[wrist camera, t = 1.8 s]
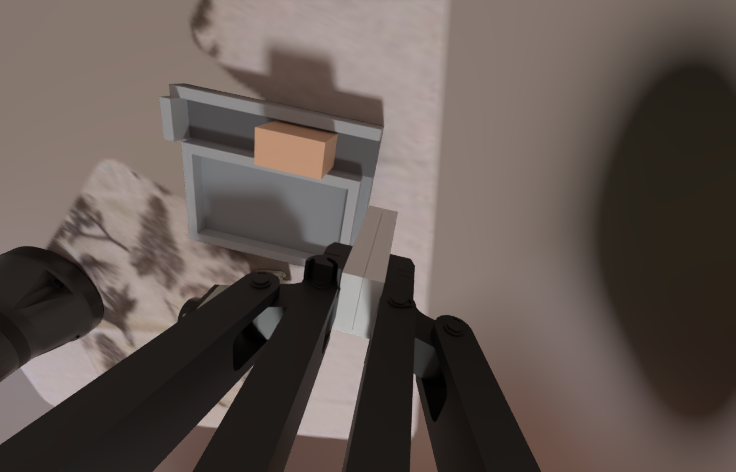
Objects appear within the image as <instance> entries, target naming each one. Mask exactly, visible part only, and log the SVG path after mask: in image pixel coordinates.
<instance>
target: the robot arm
mask: <svg viewBox="0 0 736 472" xmlns="http://www.w3.org/2000/svg"><path fill="white" fill-rule="evenodd" d="M397 214H398V212H396V211H391V210H387V209H384V210H383V209H382V208H378V207H374V206H369V208H368V211H367V213H366V216H365V218H364V221H363V223H362V225H361V228H360V230H359V233H358V235H357V238H356V240H355V243H354V245H353V246H351V245H346V244H342V243H338V242H334V243H332V244H330V245H328V246H327V248H326V250H325V251H324V253H323V255H314V256H311V257H309V258H308V259H307V260H305V270H304V279H303V281H302V282H301V283H296V284H280V280H279V278H278V276H276V275H274V274H273V273H270V272H266V271H257V272H252V273H250V274H247V275H245V276H244V277H242V278H241V279H240V280H238V281H237V282H235V283H234V284H232V285H231V286H229V287H228V288H227V289H225V290H224V291H222V292H221V293H219V294H218V295H216V296H215V297H214V298H212V299H211V300H209V301H208V302H206V303H205V304H203V305H202V306H200V307H199V308H198V309H196V310H195V311H193V312H192V313H190V314H189V315H187V316H186V317H185V318H183V319H182V320H180V321H179V322H177V323H176V324H174V325H173V326H171V327H170V328H169V329H167V330H166V331H164V332H163V333H161V334H160V335H158V336H157V337H156V338H154V339H153V340H151V341H150V342H148V343H147V344H145V345H144V346H143V347H141V348H140V349H138V350H137V351H135V352H134V353H132V354H131V355H129V356H128V357H127V358H125V359H124V360H122V361H121V362H119V363H118V364H116V365H115V366H114V367H112V368H111V369H109V370H108V371H106V372H105V373H103V374H102V375H100V376H99V377H98V378H96V379H95V380H93V381H92V382H90V383H89V384H87V385H86V386H85V387H83V388H82V389H80V390H79V391H77V392H76V393H74V394H73V395H72V396H70V397H69V398H67V399H66V400H64V401H63V402H61V403H60V404H58V405H57V406H56V407H54V408H53V409H51V410H50V411H49V412H47V413H45V414H44V415H43V416H41V417H40V418H38V419H37V420H35V421H34V422H32V423H31V424H30V425H28V426H27V427H25V428H24V429H22V430H21V431H20V432H18V433H17V434H15V435H14V436H12V437H11V438H9V439H8V440H6V441H5V442H3V443H2V444H1V445H0V472H153V471H154V470H155V468H156V467H157V466H158V465H159V464H160V463H161V462H162V461H163V460H164V459H165V458H166V457H167V456H168V455H169V454H170V453H171V452H172V450H173V449H174V448H175V447H176V446H177V445H178V444H179V443H180V442H181V441H182V440H183V439H184V438H185V437H186V436H187V434H189V432H190V431H191V430H192V429H193V428H194V427H195V426H196V425H197V424H198V423H199V422H200V421H201V420H202V419H203V418H204V417H205V416H206V415H207V413H208V412H209V411H210V410H211V409H212V408H213V407H214V406H215V405H216V404H217V403H218V402H219V401H220V400H221V399H222V398H223V397H224V395H225V394H226V393H227V392H228V391H229V390H230V389H231V388H232V387H233V386H234V385H235V384H236V383H237V382H238V381H239V380H240V379H241V377H242V376H243V375H244V374H245V373H246V372H247V371H248V370H249V369H250V368H251V367H252V366H253V365H254V366H253V368H252V369H251V371H250V373H249V375H248V376H247V378H246V380H245V382H244V383H243V385H242V387H241V388H240V390H239V392H238V394H237V395H236V397H235V399H234V401H233V402H232V404H231V406H230V408H229V409H228V411H227V413H226V415H225V416H224V418H223V420H222V421H221V423H220V425H219V427H218V428H217V430H216V432H215V434H214V435H213V437H212V439H211V441H210V442H209V444H208V446H207V448H206V449H205V451H204V453H203V455H202V456H201V458H200V460H199V461H198V463H197V465H196V467H195V469H194V470H193V472H284V469H285V466H286V463H287V460H288V457H289V454H290V452H291V449H292V446H293V443H294V440H295V437H296V434H297V432H298V429H299V426H300V423H301V420H302V417H303V414H304V411H305V409H306V406H307V403H308V400H309V397H310V394H311V391H312V388H313V386H314V383H315V380H316V377H317V374H318V371H319V368H320V365H321V363H322V360H323V357H324V354H325V351H326V348H327V345H328V342H329V339H330V333H331V329H332V326H333V329H332V330H336V331H340V332H344V333H348V334H351V333H352V335H356V336H360V337H364V338H368V339H370V341H369V345H368V349H367V353H366V357H365V361H364V368H363V372H362V377H361V382H360V387H359V391H358V396H357V401H356V406H355V410H354V415H353V420H352V425H351V430H350V434H349V439H348V444H347V449H346V453H345V458H344V463H343V468H342V472H410V449H411V423H412V397H413V373H414V374H416V383H417V387H418V391H419V395H420V399H421V403H422V408H423V411H424V416H425V420H426V424H427V428H428V432H429V437H430V441H431V445H432V449H433V453H434V457H435V461H436V466H437V470H438V472H541V471H540V468H539V467H538V464H537V462H536V460H535V458H534V456H533V454H532V452H531V450H530V448H529V446H528V444H527V442H526V440H525V438H524V436H523V434H522V432H521V430H520V428H519V426H518V423H517V422H516V419H515V417H514V415H513V413H512V411H511V409H510V407H509V405H508V403H507V401H506V399H505V397H504V395H503V393H502V391H501V389H500V387H499V385H498V383H497V381H496V378H495V376H494V374H493V372H492V370H491V368H490V366H489V365H488V362H487V360H486V358H485V356H484V354H483V352H482V350H481V348H480V346H479V344H478V342H477V340H476V338H475V336H474V333H473V331H472V330H471V328H470V327H469V325H468V324H466V323H465V322H464V321H463V320H461V319H459V318H457V317H454V316H450V315H442V316H440V317H438V318H437V319H436V320H433V319H431V318H429V317H427V316H426V315H424V314H422V313H421V312H420V311H419V310H418V309H417V308H416V304H415V301H414V300H413V294H414V272H415V265H414V264H413V262H412V260H411V259H409V258H405V257H401V256H396V255H392V254H390V251H391V246H392V240H393V235H394V230H395V224H396V219H397ZM102 317H103V305H102V302H101V299H100V296H99V294H98V292H97V291H96V289H95V287H94V286H93V285H92V283H91V282H90V281H89V279H88V278H87V277H86V276H85V275H84V274H83V273H82V272H81V271H80V270H79V269H78V268H76V267H75V266H74V265H73V264H71V263H70V262H68V261H67V260H65V259H64V258H62V257H61V256H59V255H57V254H55V253H53V252H50V251H48V250H45V249H42V248H37V247H30V246H23V247H18V248H15V249H13V250H11V251H8V252H6V253H4V254H1V255H0V382H1V381H3V380H4V379H5V378H7V377H8V376H9V375H10V374H12V373H13V372H15V371H16V370H17V369H18V368H20V367H21V366H23V365H24V364H26V363H27V362H28V361H30V360H31V359H33V358H35V357H37V356H39V355H42V354H44V353H46V352H49V351H51V350H53V349H56V348H58V347H60V346H62V345H64V344H66V343H68V342H71V341H75V340H77V339H80V338H82V337H83V336H85V335H86V334H88V333H89V332H90V331H91V330H93V329H94V328H95V327H97V326H98V325H99V324H100V322H101V320H102Z"/></svg>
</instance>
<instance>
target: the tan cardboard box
mask: <svg viewBox="0 0 736 472" xmlns="http://www.w3.org/2000/svg"><path fill="white" fill-rule="evenodd" d="M337 138H338V133H333V132H328V131H324V130H319V129H315V128H310V127H305V126H301V125H296V124H292V123H287V122H282V121H278V120H276V121H273V122H269V123H266V124H263V125H260V126H257V127H255V150H254V165H257V166H262V167H266V168H271V169H275V170H279V171H284V172H288V173H293V174H297V175H302V176H306V177H310V178H315V179H319V180H321V179H322V178H323V177H324V176H325V175H326V174H327V173H328V172H329V171H330V170H331V169H332V168H333V167H334V160H335V153H336V145H337Z"/></svg>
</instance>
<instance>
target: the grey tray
mask: <svg viewBox="0 0 736 472" xmlns="http://www.w3.org/2000/svg"><path fill="white" fill-rule="evenodd" d="M169 88H170V96H162V97H160V106H161V115H162V124H163V133H164V139H165V140H170V141H174V142H175V141H178V140H181V145H182V156H183V168H184V179H185V191H186V202H187V214H188V225H189V237H190V239H191V240H196V241H200V242H204V243H208V244H212V245H216V246H221V247H225V248H229V249H233V250H237V251H241V252H245V253H250V254H254V255H258V256H262V257H266V258H270V259H275V260H279V261H283V262H287V263H291V264H295V265H300V266H304V267H305V260H307V259H308V258H309V257H311V256H314V255H323V253H324V251H325V250H326V248H327V246H328V245H330V244H332V243H334V242H338V243H342V244H346V245H351V246H353V245H354V243H355V240H356V238H357V235H358V233H359V230H360V228H361V225H362V223H363V221H364V218H365V216H366V213H367V210H368V205H369V200H370V195H371V190H372V185H373V180H374V174H375V169H376V164H377V159H378V154H379V149H380V144H381V139H382V134H383V129H384V126H380V125H375V124H371V123H366V122H361V121H357V120H352V119H347V118H343V117H338V116H333V115H329V114H324V113H319V112H315V111H310V110H306V109H301V108H296V107H292V106H287V105H282V104H278V103H273V102H268V101H264V100H259V99H254V98H250V97H245V96H240V95H236V94H231V93H226V92H221V91H217V90H212V89H208V88H203V87H198V86H193V85H189V84H169ZM276 120H278V121H282V122H287V123H292V124H296V125H301V126H305V127H310V128H315V129H319V130H324V131H328V132H333V133H338V138H337V145H336V153H335V160H334V167H333V168H332V169H331V170H330V171H329V172H328V173H327V174H326V175H325V176H324V177H323V178H322V179H321V180H319V179H315V178H310V177H306V176H302V175H297V174H293V173H288V172H284V171H279V170H275V169H271V168H266V167H262V166H257V165H254V150H255V127H257V126H260V125H263V124H266V123H269V122H273V121H276Z"/></svg>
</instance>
